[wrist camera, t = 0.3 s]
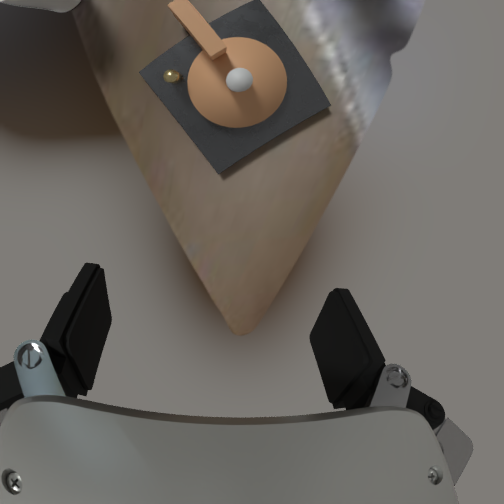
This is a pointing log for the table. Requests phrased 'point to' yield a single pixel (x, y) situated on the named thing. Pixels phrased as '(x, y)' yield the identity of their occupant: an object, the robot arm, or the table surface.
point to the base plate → (227, 138)
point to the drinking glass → (45, 4)
